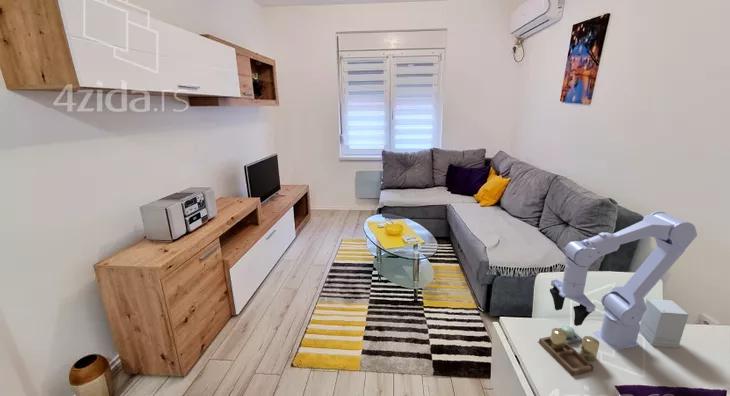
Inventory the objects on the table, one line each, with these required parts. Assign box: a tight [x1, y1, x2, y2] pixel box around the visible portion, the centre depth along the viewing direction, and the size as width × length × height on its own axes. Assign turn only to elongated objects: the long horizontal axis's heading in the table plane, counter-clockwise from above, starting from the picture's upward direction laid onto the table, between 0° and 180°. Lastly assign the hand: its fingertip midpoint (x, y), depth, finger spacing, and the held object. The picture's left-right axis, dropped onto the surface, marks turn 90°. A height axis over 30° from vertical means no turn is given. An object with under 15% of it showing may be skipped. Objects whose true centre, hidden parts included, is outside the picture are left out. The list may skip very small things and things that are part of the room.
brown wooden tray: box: [537, 335, 595, 377], centre depth 97 cm, size 8×14×2 cm, turn 12°
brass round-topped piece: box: [549, 327, 567, 352], centre depth 99 cm, size 4×4×6 cm
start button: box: [561, 325, 576, 339], centre depth 104 cm, size 4×4×2 cm
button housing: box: [559, 327, 583, 345], centre depth 105 cm, size 6×6×2 cm
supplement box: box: [639, 298, 690, 349], centre depth 101 cm, size 7×7×13 cm
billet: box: [579, 335, 600, 363], centre depth 96 cm, size 4×4×6 cm
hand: (567, 316), depth 101 cm, fingers open, 7 cm apart
